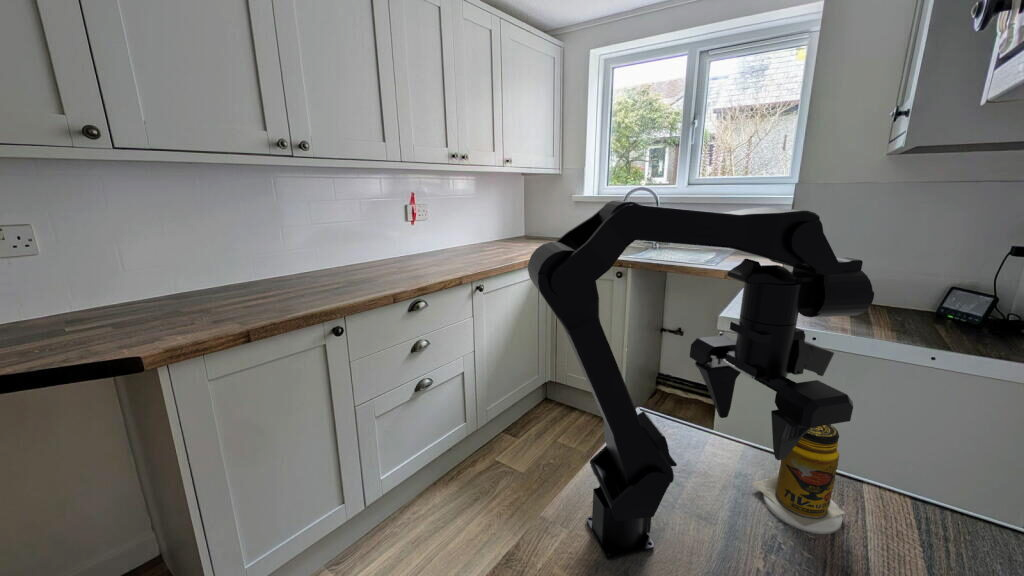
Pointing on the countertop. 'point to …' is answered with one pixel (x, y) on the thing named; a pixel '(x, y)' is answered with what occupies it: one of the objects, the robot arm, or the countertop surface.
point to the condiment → (807, 477)
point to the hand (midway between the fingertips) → (749, 436)
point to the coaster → (818, 528)
